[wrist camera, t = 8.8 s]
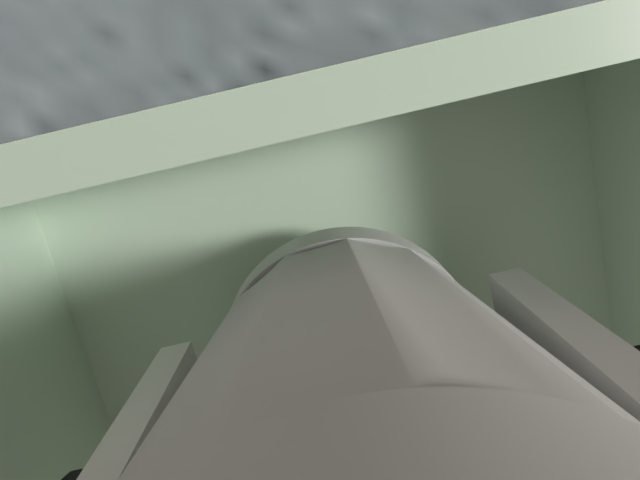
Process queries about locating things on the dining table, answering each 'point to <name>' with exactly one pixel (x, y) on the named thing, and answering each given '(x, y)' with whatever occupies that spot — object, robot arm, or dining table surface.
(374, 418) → the cup
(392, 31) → the dining table surface
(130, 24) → the dining table surface
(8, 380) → the tote
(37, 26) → the dining table surface
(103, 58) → the dining table surface
